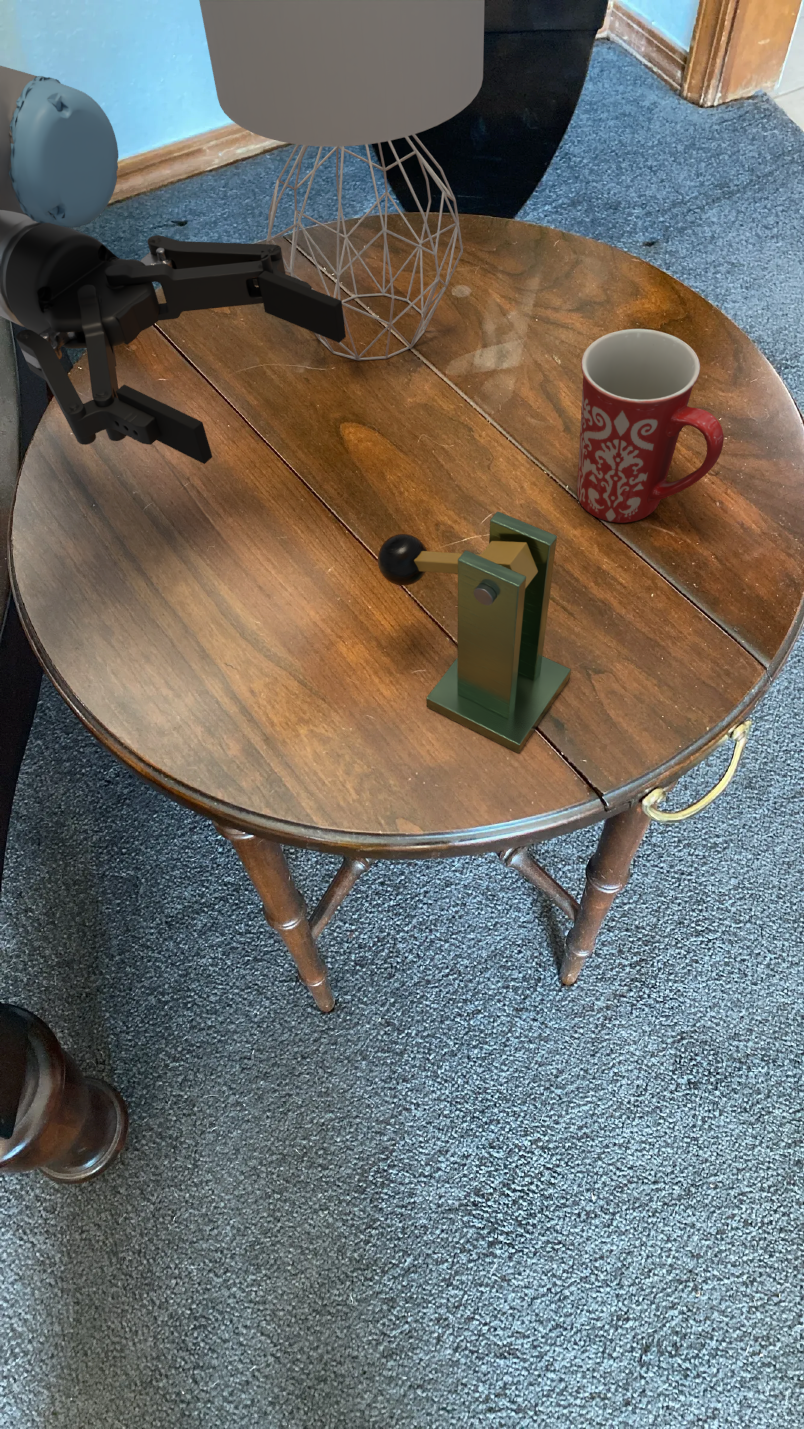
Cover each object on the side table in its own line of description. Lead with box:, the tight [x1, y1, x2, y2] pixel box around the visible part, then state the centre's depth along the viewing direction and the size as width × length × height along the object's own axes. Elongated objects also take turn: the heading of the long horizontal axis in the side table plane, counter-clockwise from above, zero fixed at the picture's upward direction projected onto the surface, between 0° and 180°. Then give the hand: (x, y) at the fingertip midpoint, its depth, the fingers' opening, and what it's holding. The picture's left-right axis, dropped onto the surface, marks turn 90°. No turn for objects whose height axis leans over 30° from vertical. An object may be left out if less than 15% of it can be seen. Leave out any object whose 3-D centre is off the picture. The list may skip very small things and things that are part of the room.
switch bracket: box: [425, 511, 572, 754], centre depth 68 cm, size 8×8×16 cm
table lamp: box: [198, 0, 485, 362], centre depth 84 cm, size 22×22×40 cm
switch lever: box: [377, 533, 538, 589], centre depth 66 cm, size 12×4×4 cm, turn 57°
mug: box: [576, 328, 725, 524], centre depth 79 cm, size 13×9×14 cm
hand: (275, 380), depth 61 cm, fingers open, 13 cm apart
